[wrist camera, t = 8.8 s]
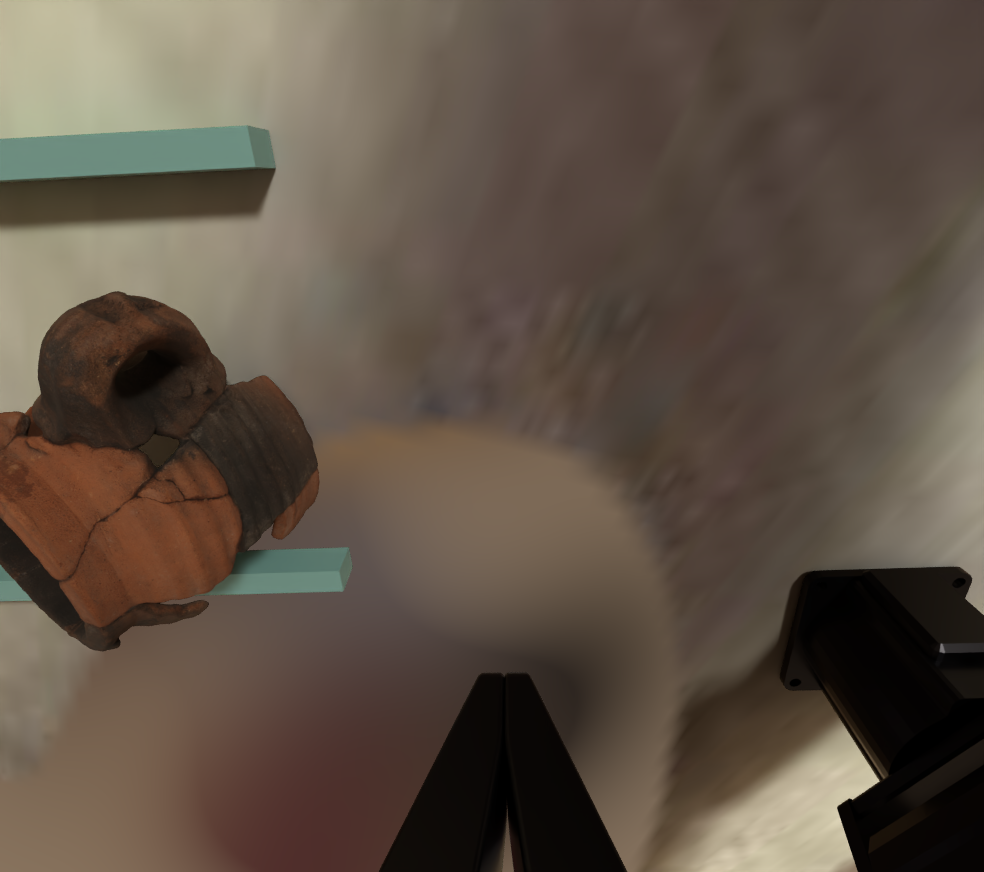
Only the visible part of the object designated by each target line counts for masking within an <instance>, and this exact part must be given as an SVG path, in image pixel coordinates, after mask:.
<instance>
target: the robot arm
mask: <svg viewBox="0 0 984 872" xmlns="http://www.w3.org/2000/svg"><path fill="white" fill-rule="evenodd" d="M819 582H821V583H819ZM817 583H819V584H818V585H816V584H817ZM971 583H972V577H971V575H969V574H968V573H967V572H966V571H965V570H963V569H962V568H960V567H926V568H892V569H857V570H823V571H814V572H811V573H809V574H808V575H807V576H806V577H805V579H804V581H803V585H802V589H801V593H800V597H799V601H798V605H797V609H796V613H795V617H794V621H793V625H792V629H791V633H790V637H789V641H788V645H787V649H786V653H785V657H784V661H783V665H782V669H781V673H780V679H781V681H782V683H783V685H784V686H785V688H786V689H788V690H793V691H794V690H822V691H823V693H824V694H825V696H826V698H827V699H828V701H829V702H830V704H831V705H832V707H833V709H834V710H835V712H836V713H837V715H838V716H839V718H840V720H841V721H842V723H843V724H844V726H845V727H846V729H847V731H848V732H849V734H850V735H851V737H852V738H853V740H854V742H855V743H856V745H857V746H858V748H859V749H860V751H861V753H862V754H863V756H864V757H865V759H866V760H867V762H868V764H869V765H870V767H871V768H872V770H873V771H874V773H875V775H876V776H877V778H878V779H879V781H880V782H878V783H877V784H875V785H874V786H872V787H871V788H869V789H868V790H867V791H865V792H864V793H862V794H861V795H859V796H858V797H856V798H855V799H853V800H852V799H848V800H846V801H845V802H843V803H842V804H840V805H839V806H838V807H837V809H838V812H839V815H840V818H841V821H842V825H843V828H844V831H845V834H846V837H847V840H848V843H849V846H850V849H851V852H852V855H853V858H854V861H855V864H856V867H857V870H858V872H984V615H983V614H982V613H980V612H979V611H978V610H977V609H976V608H975V607H974V606H973V605H971V604H970V603H969V602H968V601H967V600H966V599H965V597H966V595H967V592H968V590H969V587H970V585H971ZM507 809H508V823H509V835H510V843H511V851H512V860H513V868H514V872H627V870H626V868H625V866H624V864H623V862H622V860H621V858H620V856H619V854H618V852H617V850H616V848H615V846H614V844H613V842H612V840H611V838H610V836H609V834H608V832H607V830H606V828H605V826H604V824H603V822H602V820H601V818H600V816H599V814H598V812H597V810H596V808H595V805H594V803H593V801H592V799H591V797H590V795H589V793H588V792H587V789H586V787H585V785H584V783H583V781H582V779H581V777H580V775H579V773H578V771H577V769H576V767H575V765H574V763H573V761H572V759H571V757H570V755H569V753H568V751H567V749H566V747H565V745H564V743H563V741H562V739H561V737H560V735H559V732H558V731H557V728H556V727H555V724H554V722H553V721H552V718H551V716H550V714H549V712H548V710H547V708H546V706H545V704H544V702H543V700H542V698H541V696H540V694H539V692H538V690H537V688H536V686H535V684H534V682H533V680H532V678H531V676H530V675H529V674H528V673H527V672H510V673H507V674H505V677H504V675H503V674H502V673H481V674H480V675H479V676H478V677H477V679H476V681H475V683H474V685H473V687H472V689H471V691H470V693H469V695H468V697H467V699H466V701H465V703H464V705H463V707H462V709H461V711H460V713H459V715H458V717H457V718H456V720H455V722H454V724H453V726H452V728H451V730H450V732H449V734H448V736H447V738H446V740H445V742H444V744H443V746H442V748H441V750H440V752H439V754H438V756H437V758H436V760H435V762H434V764H433V766H432V768H431V770H430V772H429V774H428V776H427V777H426V779H425V782H424V783H423V785H422V787H421V789H420V791H419V793H418V795H417V797H416V799H415V801H414V803H413V805H412V807H411V809H410V811H409V813H408V815H407V817H406V819H405V821H404V823H403V825H402V827H401V829H400V831H399V833H398V835H397V837H396V839H395V840H394V842H393V844H392V846H391V848H390V850H389V852H388V854H387V856H386V858H385V860H384V862H383V864H382V866H381V868H380V870H379V872H502V868H503V858H504V848H505V847H504V846H505V837H506V822H507Z"/></svg>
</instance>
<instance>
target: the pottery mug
mask: <svg viewBox="0 0 984 872" xmlns="http://www.w3.org/2000/svg"><path fill="white" fill-rule="evenodd" d="M38 380H39V385H40V390H41V395H40V396H39V397H38V398H37V400H36V401H35V402H34V404H33V406H32V407H30V408H29V409H28V411H27V412H26V413H25V414H24V413H22V412H3V413H0V565H1V566H2V567H3V569H4V570H5V571H6V572H7V573H8V574H9V575H10V576H11V577H12V578H13V579H14V580H15V581H16V583H17V584H18V585H19V586H20V587H21V588H22V590H23V591H24V592H26V594H27V595H28V596H29V597H30V598H31V599H32V600H33V601H34V602H35V603H36V604H37V605H38V607H39V608H40V609H42V610H43V611H44V612H45V613H46V614H47V615H48V616H49V617H50V618H51V619H52V620H53V621H54V622H55V623H57V624H58V625H59V626H60V627H61V628H62V629H63V630H65V631H66V632H68V635H69V636H71V637H74V638H76V639H78V640H79V641H80V642H81V643H82V644H84V645H86V646H87V647H88V648H90V649H93V650H96V651H97V650H98V651H106V650H110V649H115V648H118V647H119V646H120V640H119V636H120V635H121V634H123V633H124V632H125V631H127V630H128V629H129V628H130V627H132V626H153V625H158V624H170V623H174V622H177V621H180V620H182V619H186V618H192V617H194V616H197V615H199V614H200V613H201V612H203V611H204V610H205V609H206V608H207V607H208V605H209V603H208V602H207V601H203V600H198V601H194V602H191V603H187V604H183V605H179V604H173V605H166V604H160V603H161V602H166V601H169V600H174V599H176V600H180V599H184V598H189V597H192V596H194V595H200V594H205V593H208V592H210V591H211V590H212V589H213V588H214V587H215V586H216V585H217V584H219V583H220V582H222V581H223V580H224V579H225V578H226V577H228V576H229V575H230V574H231V572H232V569H233V566H234V562H235V559H236V554H237V553H238V552H241V553H244V552H246V551H247V550H248V548H249V547H250V546H252V545H253V544H254V543H256V542H257V541H258V540H259V539H260V538H261V535H262V533H263V532H264V531H266V530H267V529H268V528H269V527H271V525H272V524H273V523H274V525H273V529H272V534H271V535H272V536H273V537H274V538H276V539H283V538H285V537H286V536H287V535H288V534H289V533H290V532H291V531H292V530H293V529H294V528H295V526H296V525H297V524H298V522H299V521H300V519H301V518H302V517H303V515H304V513H305V511H306V510H307V509H308V508H309V507H310V506H311V505H312V504H313V503H314V502H315V499H316V497H317V494H318V489H319V472H318V469H317V466H318V463H317V459H316V455H315V452H314V449H313V442H312V439H311V437H310V435H309V434H308V432H307V430H306V428H305V425H304V422H303V420H302V418H301V417H300V415H299V414H298V412H297V410H296V408H295V407H294V406H293V404H292V403H291V402H290V401H289V400H288V399H287V398H286V396H285V395H284V393H283V392H282V391H281V390H280V389H279V388H278V387H277V386H276V385H275V384H274V382H273V381H271V380H270V379H269V378H268V377H267V376H259V377H256V378H254V379H252V380H251V381H249V382H239V383H237V384H235V385H226V371H225V367H224V365H223V364H222V363H221V362H220V361H219V360H218V358H217V357H215V356H214V355H213V354H212V353H211V351H210V349H209V347H208V345H207V343H206V341H205V339H204V338H203V337H202V335H201V334H200V332H199V331H198V329H197V328H196V326H195V325H194V324H193V322H192V321H191V320H190V319H189V318H188V317H187V316H185V315H184V314H183V313H181V312H179V311H177V310H175V309H173V308H170V307H168V306H167V305H165V304H163V303H161V302H158V301H155V300H152V299H149V298H146V297H140V296H130V295H126V294H125V293H123V292H119V291H117V292H111V293H109V294H106V295H103V296H101V297H99V298H96V299H92V300H88V301H86V302H84V303H81V304H79V305H77V306H76V307H74V308H72V309H69V310H68V311H66V312H65V313H64V314H62V315H61V316H60V317H59V318H58V319H57V320H56V321H55V322H54V323H53V325H52V326H51V327H50V329H49V330H48V332H47V333H46V335H45V337H44V339H43V341H42V344H41V349H40V356H39V362H38ZM153 434H157V435H161V436H167V437H171V438H173V439H178V440H179V441H180V445H179V446H178V448H177V449H176V451H175V452H174V454H172V455H171V456H170V457H169V458H168V459H167V460H166V461H165V463H164V464H163V465H162V466H160V467H159V468H157V467H155V466H154V465H153V463H152V461H151V460H150V459H149V457H148V456H147V455H146V454H145V453H144V452H142V451H141V450H139V449H138V447H139V446H141V445H143V444H145V443H146V442H148V441H149V440H150V438H151V437H152V435H153Z"/></svg>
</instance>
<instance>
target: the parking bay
mask: <svg viewBox="0 0 984 872" xmlns="http://www.w3.org/2000/svg"><path fill="white" fill-rule="evenodd" d="M271 168H276V167H275V162H274V157H273V151H272V146H271V141H270V136H269V131H268V130H265V129H260V128H256V127H251V126H229V127H211V128H192V129H174V130H156V131H138V132H119V133H101V134H83V135H64V136H46V137H28V138H9V139H0V183H3V182H22V181H41V180H60V179H79V178H98V177H117V176H137V175H156V174H175V173H194V172H213V171H232V170H251V169H271ZM352 567H353V566H352V561H351V556H350V551H349V547H348V548H347V547H346V548H318V549H317V548H315V549H282V550H250V551H246V552H244V553H241V552H238V553H237V554H236V559H235V562H234V566H233V569H232V572H231V574H230V575H229V576H228V577H226V578H225V579H224V580H223V581H222V582H220V583H219V584H217V585H216V586H215V587H214V588H213V589H212V590H211V591H210V592H208V593H205V594H200V595H199V596H201V595H234V594H235V595H236V594H271V593H303V592H304V593H305V592H338V591H339V592H340V591H344V588H345V586H346V583H347V580H348V578H349V575H350V573H351V570H352ZM194 596H198V595H194ZM29 600H32V599H31V598H30V597H29V596H28V595H27V594H26V592H24V591H23V590H22V588H21V587H20V586H19V585H18V584H17V583H16V581H15V580H14V579H13V578H12V577H11V576H10V575H9V574H8V573H7V572H6V571H5V570H4V569H3V567H2V566H1V565H0V601H29Z"/></svg>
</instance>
